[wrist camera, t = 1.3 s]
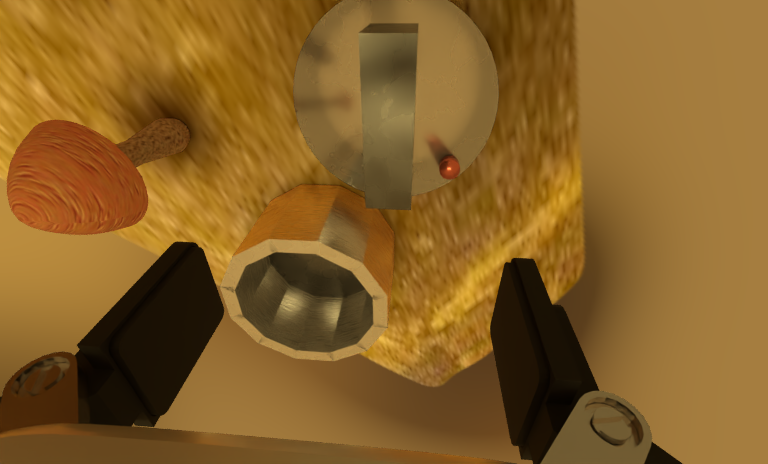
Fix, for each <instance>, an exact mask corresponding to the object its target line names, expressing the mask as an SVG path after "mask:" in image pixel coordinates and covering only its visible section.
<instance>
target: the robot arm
mask: <svg viewBox="0 0 768 464" xmlns="http://www.w3.org/2000/svg"><path fill="white" fill-rule="evenodd" d="M223 315H224V307H223V304H222V301H221V298H220V296H219V293H218V290H217V287H216V284H215V281H214V279H213V276H212V273H211V270H210V267H209V265H208V262H207V259H206V256H205V253H204V251H203V249H202V248H200V247H199V246H198V245H197V244H196V243H193V242H174V243H173V244H172V245H171V246H170V247H169V248H168V249H167V250H166V251H165V252H164V253H163V254H162V255H161V257H160V258H159V259H158V260H157V261H156V262H155V263H154V264H153V265H152V266H151V267H150V268H149V269H148V270H147V271H146V272H145V273H144V275H143V276H142V277H141V278H140V279H139V280H138V281H137V282H136V283H135V284H134V285H133V286H132V287H131V288H130V289H129V290H128V292H127V293H126V294H125V295H124V296H123V297H122V298H121V299H120V300H119V301H118V302H117V303H116V304H115V305H114V306H113V307H112V308H111V310H110V311H109V312H108V313H107V314H106V315H105V316H104V317H103V318H102V319H101V320H100V321H99V322H98V323H97V324H96V326H94V327H93V329H92V330H91V331H90V332H89V333H88V334H87V335H86V336H85V337H84V338H83V339H82V340H81V341H80V343H78V344H77V346H78V348H79V349H80V350H79V351H78V352H77V353H76V355H75V356H74V355H73V354H72V353H69V352H54V353H51V354H47V355H44V356H41V357H39V358H37V359H35V360H33V361H31V362H29V363H28V364H26V365H25V366H23V367H22V368H20V370H18V371H17V372H16V373H15V374H14V375H12V377H11V378H10V379H9V380H8V382H7V383H6V384H5V387H4V389H3V392H2V396H1V397H0V464H515V463H508V462H502V461H496V460H490V459H483V458H474V457H465V456H456V455H447V454H438V453H429V452H419V451H408V450H397V449H386V448H376V447H364V446H354V445H344V444H332V443H322V442H311V441H298V440H288V439H277V438H265V437H253V436H242V435H231V434H230V435H229V434H218V433H206V432H194V431H182V430H170V429H157V428H146V427H131V426H132V425H133V423H134V424H135V425H137V426H148V427H154V426H155V424H156V422H157V421H158V419H159V417H160V416H161V415H164V414H165V413H166V412H167V411H168V409H169V408H170V406H171V404H172V403H173V401H174V399H175V398H176V396H177V394H178V393H179V391H180V389H181V388H182V386H183V384H184V382H185V381H186V379H187V377H188V376H189V374H190V372H191V371H192V369H193V367H194V366H195V364H196V362H197V360H198V359H199V357H200V355H201V353H202V352H203V350H204V349H205V346H206V345H207V343H208V342H209V340H210V338H211V337H212V335H213V333H214V332H215V330H216V328H217V327H218V325H219V323H220V321H221V320H222V318H223ZM490 334H491V340H492V345H493V350H494V355H495V361H496V366H497V371H498V376H499V381H500V387H501V392H502V397H503V403H504V408H505V413H506V418H507V424H508V429H509V434H510V439H511V443H512V444H513V445H514V446H519V451H520V456H521V459H524V460H532V461H533V464H682V463H681V462H680V461H678V460H676V459H675V458H674V457H672V456H671V455H670V454H668V453H667V452H666V451H664V450H663V449H661V448H660V447H659V446H657V445H656V444H654V443H653V442H652V434H651V430H650V427H649V425H648V423H647V421H646V420H645V418H644V416H643V415H642V414H641V413H640V412H639V411H638V410H637V409H636V408H635V407H634V406H633V405H632V404H630V403H629V402H628V401H626V400H625V399H623V398H621V397H619V396H617V395H615V394H613V393H609V392H604V391H599V389H598V386H597V384H596V382H595V379H594V377H593V375H592V372H591V370H590V368H589V365H588V363H587V361H586V358H585V356H584V354H583V351H582V349H581V347H580V344H579V342H578V340H577V337H576V335H575V333H574V330H573V328H572V326H571V324H570V321H569V319H568V316H567V314H566V312H565V310H564V308H563V307H562V306H561V305H552V303H551V301H550V298H549V296H548V293H547V291H546V288H545V286H544V283H543V281H542V278H541V276H540V273H539V271H538V268H537V266H536V263H535V261H534V260H533V259H526V258H513V259H512V260H511V263H508V262H506V263H505V265H504V269H503V273H502V277H501V282H500V286H499V290H498V295H497V299H496V303H495V308H494V312H493V316H492V321H491V326H490Z"/></svg>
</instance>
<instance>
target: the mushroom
mask: <svg viewBox="0 0 768 464" xmlns="http://www.w3.org/2000/svg"><path fill="white" fill-rule="evenodd" d="M188 131H189V129H187V126H186V125H184V123H183V122H181V121H180V120H176V118H174V119H172V118H160V119H157V120H155V121H154V122H152V123H151V124H149V125H148V126H146V127H145V128H144V129H142V130H141V131H139V132H138V133H136V134H135V135H134V136H132V137H131V138H129V139H128V140H126V141H124V142H122V143H119V144H116V145H115V144H114V143H112V142H111V141H110V140H108V139H107V138H105V137H104V136H102V135H101V134H99V133H97V132H96V131H94V130H91V129H89V128H87V127H85V126H83V125H80V124H77V123H74V122H69V121H64V120H50V121H45V122H42V123H40V124H38V125H37V126H35V127H34V128H33V129H32V130H31V131H30V133H29V134H28V135H27V136H26V137H25V139H24V140H23V141H22V143H21V144H20V145H19V147H18V148H17V150H16V152H15V154H14V156H13V158H12V160H11V163H10V167H9V172H8V177H7V195H8V200H9V205H10V208H11V210H12V211H13V213H14V214H15V216H16V217H17V218H18V220H20V221H21V222H23V223H25V224H26V225H28V226H30V227H33V228H36V229H40V230H44V231H48V232H54V233H62V234H75V235H80V234H81V235H87V234H98V233H105V232H110V231H114V230H118V229H122V228H125V227H129V226H132V225H134V224H136V223H138V222H139V221H140V220H141V219H142V218H143V217H144V215H145V213H146V211H147V207H148V194H147V190H146V187H145V184H144V181H143V179H142V176H141V175H140V173H139V172H138V170H137V169H136V167H138V166H140V165H142V164H144V163H147V162H150V161H153V160H156V159H160V158H163V157H166V156H169V155H173V154H176V153H179V152H182V151H183V150H184V149H185V148H186V146H187V144H188V142H189V139H190V136H189V135H190V133H189V132H188Z"/></svg>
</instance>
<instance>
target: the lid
mask: <svg viewBox="0 0 768 464" xmlns="http://www.w3.org/2000/svg"><path fill="white" fill-rule="evenodd" d="M293 94H294V106H295V111H296V116H297V120H298V123H299V126H300V129H301V132H302V134H303V136H304V138H305V140H306V142H307V144H308V146H309V147H310V149H311V151H312V152H313V154H314V155H315V156H316V157H317V159H318V160H319V161H320V162H321V163H322V164H323V165H324V166H325V167H326V168H327V169H328V170H329V171H330V172H331V173H332V174H333V175H335V176H336V177H337V178H339V179H340V180H342V181H343V182H345V183H347V184H348V185H350V186H352V187H354V188H356V189H359V190H361V191H364V192H365V205H366V208H373V209H399V210H411V196H414V195H419V194H422V193H426V192H429V191H432V190H434V189H437V188H439V187H441V186H443V185H445V184H447V183H449V182H450V181H451V180H453V179H454V178H456V177H457V176H459V175H460V174H461V173H462V172H463V171H464V170H465V169H467V168H468V167H469V166H470V164H471V163H472V162H473V161H474V160H475V159H476V158H477V156H478V155H479V153H480V152H481V150H482V149H483V147H484V145H485V144H486V142H487V140H488V138H489V136H490V133H491V130H492V128H493V125H494V122H495V118H496V113H497V109H498V98H499V87H498V76H497V70H496V65H495V62H494V59H493V56H492V52H491V50H490V48H489V46H488V44H487V42H486V40H485V38H484V36H483V35H482V33H481V32H480V30H479V29H478V27H477V26H476V25H475V23H474V22H473V21H472V20H471V19H470V18H469V17H468V16H467V14H465V13H464V12H463V11H462V10H461V9H459V8H458V7H457V6H456V5H455V4H453V3H452V2H450V1H448V0H343V1H341V2H340V3H338V4H337V5H335V6H334V7H333V8H332V9H331V10H329V11H328V12H327V13H326V14H325V15H324V16H323V17H322V18H321V19H320V21H319V22H318V23H317V24H316V25H315V26H314V28H313V29H312V31H311V33H310V34H309V36H308V37H307V39H306V41H305V43H304V45H303V47H302V49H301V52H300V55H299V58H298V61H297V65H296V70H295V76H294V89H293Z"/></svg>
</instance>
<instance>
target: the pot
mask: <svg viewBox="0 0 768 464" xmlns="http://www.w3.org/2000/svg"><path fill="white" fill-rule="evenodd" d="M394 234H395V233H394V232H393V230H392V229H391V227H390V226H389V224H388V223H387V221H386V220H385V218H384V217H383V215H382V214H381V212H380V211H379V209H373V208H366V205H365V198H363V197H361V196H359V195H357V194H355V193H353V192H352V191H350V190H348V189H346V188H344V187H342V186H339V185H309V184H301V185H299V186H297V187H295V188H293V189H291V190H290V191H288V192H286V193H284V194H282V195H280V196H278V197H277V198H275V199H273V200H271V201H270V203H269V204H268V206H267V207H266V209H265V210H264V212H263V213H262V214H261V216H260V217H259V219H258V220H257V222H256V223H255V225H254V226H253V227H252V229H251V230H250V232H249V233H248V235H247V236H246V238H245V239H244V240H243V242H242V243H241V245H240V246H239V248H238V249H237V251H236V252H235V253H234V255H233V256H232V259H231V261H230V264H229V266H228V268H227V271H226V273H225V276H224V278H223V280H222V283H221V285H220V288H221V291H222V294H223V297H224V300H225V303H226V306H227V309H228V311H229V314H230V317H231V319H233V320H234V321H235V322H236V323H237V324H238V325H239V326H240V327H241V328H242V329H243V330H244V331H246V332H247V333H248V334H249V335H250V336H251V337H252V338H253V339H254V340H255V341H257V342H258V343H259V344H261V345H264V346H266V347H269V348H271V349H274V350H276V351H279V352H281V353H283V354H286V355H288V356H291V357H293V358H297V359H312V360H326V361H336V360H339V359H342V358H345V357H348V356H352V355H355V354H358V353H361V352H364V351H367V350H368V349H369V348H370V347H371V346H372V345H373V343H374V342H375V341H376V340H377V339H378V338H379V337H380V336H381V334H382V333H383V332H384V331H385V330H386V329H387V328H388V319H389V309H390V299H391V290H392V280H393V270H394Z"/></svg>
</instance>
